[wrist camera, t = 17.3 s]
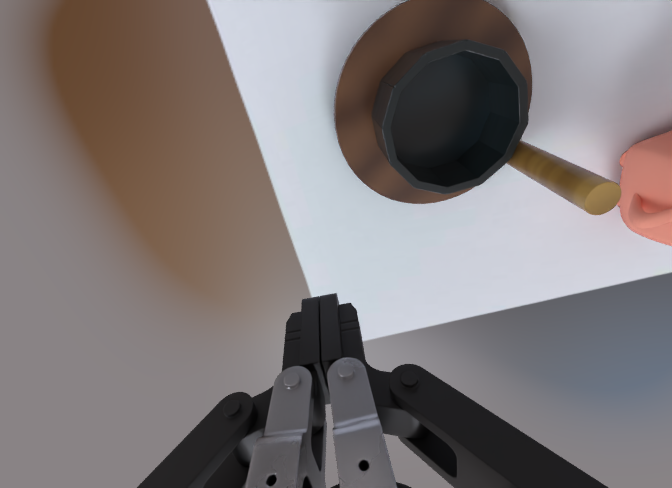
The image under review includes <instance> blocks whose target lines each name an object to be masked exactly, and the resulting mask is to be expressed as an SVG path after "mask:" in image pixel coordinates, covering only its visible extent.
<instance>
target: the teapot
mask: <svg viewBox="0 0 672 488" xmlns="http://www.w3.org/2000/svg"><path fill="white" fill-rule="evenodd" d="M620 165H621V166H622V167H623V168H622V174H621V179H620V188H621V197H620V200H619V202H618V203H617V204H618V206H619V207H620V212H621V217H622V219H623V221H624V223H625V224H626V225H627V227H628V228H629V229H631V230H632V231H633V232H635V233H637V234H639V235H641V236H644V237H646V238H648V239H651V240H654V241H657V242H660V243H663V244H666V245H670V246H672V131H669V132H666V133H663V134H660V135H657V136H655V137H652V138H649V139H646V140H644V141H641V142H639V143H636V144H635V145H633V146H631V147H630V148H629V150H627V151H626V152H625V153H624V154H623V155H622V156H621V158H620Z"/></svg>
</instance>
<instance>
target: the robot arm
mask: <svg viewBox="0 0 672 488" xmlns="http://www.w3.org/2000/svg"><path fill="white" fill-rule="evenodd" d="M326 404H331V407H332V415H333V423H334V428H333V438H334V446H335V453H336V461H337V469H338V476H339V484H338V485H335V486H333V487H331V488H411V487H409V486H407V485H404V484H401V483H397V482H396V481H395V477H394V474H393V470H392V466H391V462H390V458H389V454H388V450H387V447H386V443H385V439H384V435H383V433H384V434H390V435H395V436H398V437H399V439H400V440H401V442H403V443H404V444H405V445H406V446H407V447H408V448H409V449H410V450H412V451H413V452H414V453H415V454H416V455H417V456H419V457H420V458H421V459H422V460H423V461H424V462H426V463H427V464H428V465H429V466H430V467H431V468H432V469H433V470H435V471H436V472H437V473H438V474H439V475H440V476H442V477H443V478H444V479H445V480H446V481H447V482H448V483H450V484H451V485H452V486H453V487H454V488H608V487H607V486H605V485H603V484H602V483H600V482H599V481H597V480H596V479H594V478H593V477H591V476H590V475H588V474H586V473H585V472H583V471H582V470H580V469H578V468H577V467H576V466H574V465H572V464H571V463H569V462H567V461H566V460H565V459H563V458H562V457H560V456H558V455H557V454H555V453H554V452H552V451H551V450H549V449H548V448H546V447H544V446H543V445H541V444H539V443H538V442H537V441H535V440H533V439H532V438H530V437H529V436H527V435H526V434H524V433H523V432H521V431H520V430H518V429H517V428H515V427H513V426H512V425H510V424H509V423H507V422H506V421H504V420H502V419H501V418H499V417H498V416H496V415H494V414H493V413H492V412H490V411H489V410H487V409H485V408H484V407H482V406H481V405H479V404H477V403H476V402H475V401H473V400H471V399H470V398H468V397H467V396H465V395H464V394H462V393H461V392H459V391H457V390H456V389H454V388H452V387H451V386H450V385H448V384H447V383H445V382H443V381H442V380H440V379H439V378H437V377H435V376H434V375H433V374H431V373H429V372H428V371H426V370H425V369H423V368H421V367H420V366H417V365H414V364H404V365H401V366H398V367H396V368H395V369H394V370H393V371H392V372H384V371H379V370H376V369H374V368H372V367H371V366H370V365H368V364H367V362H366V360H365V354H364V348H363V342H362V336H361V331H360V326H359V321H358V316H357V311H356V309H355V308H354V307H353V306H352V304H351V303H346V304H341V305H339V301H338V297H337V293H334V294H329V295H323V296H320V298H319V296H318V297H313V298H307V299H303V300H302V309H301V312H297V313H292V314H291V316H290V318H289V319H288V321H287V323H286V334H285V344H284V356H283V366H282V372H281V373H280V374H279V375H278V376H277V378H276V380H275V382H274V386H272V387H271V388H270V389H269V390H267V391H265V392H263V393H261V394H259V395H257V396H254V397H253V398H251V397H250V395H248V394H247V393H244V392H236V393H232V394H230V395H228V396H226V397H225V398H224V399H223V400H221V401H220V402H219V403H218V404H217V405H216V406H215V408H214V409H213V410H212V411H211V412H210V413H209V414H208V415H207V416H206V417H205V418H204V419H203V420H202V421H201V422H200V423H199V424H198V425H197V426H196V427H195V428H194V429H193V430H192V431H191V432H190V434H188V435H187V436H186V437H185V438H184V440H183V441H182V442H181V443H180V444H179V445H178V446H177V447H176V448H175V449H174V450H173V451H172V452H171V453H170V454H169V455H168V456H167V457H166V458H165V459H164V460H163V462H161V463H160V464H159V465H158V466H157V467H156V468H155V470H154V471H153V472H152V473H151V474H150V475H149V476H148V477H147V478H146V479H145V480H144V481H143V482H142V483H141V484H140V485H139V486H138V487H137V488H326V485H325V456H326V453H325V452H326V430H327V423H326V419H325V417H326V413H325V405H326Z"/></svg>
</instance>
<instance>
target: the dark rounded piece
mask: <svg viewBox="0 0 672 488" xmlns="http://www.w3.org/2000/svg"><path fill="white" fill-rule="evenodd" d="M531 96H532V72H531V65H530V60H529V56H528V52H527V49H526V47H525V44H524V42H523V39H522V38H521V36H520V34H519V32H518V31H517V29H516V27H515V26H514V25H513V24H512V22H511V21H510V20H509V19H508V18H507V17H506V16H505V15H504V14H503V13H502V12H501V11H500V10H499V9H497V8H496V7H494V6H493V5H491V4H489V3H488V2H486V1H484V0H409V1H407V2H404V3H402V4H400V5H398V6H396V7H395V8H393V9H391V10H390V11H388V12H386V13H385V14H384V15H382V16H381V17H380V18H379V19H377V20H376V21H375V22H374V23H373V24H372V25H371V26H370V27H369V28H368V29H367V30H366V31H365V32H364V33H363V34H362V35H361V37H360V38H359V40H358V41H357V42H356V44H355V45H354V46H353V48H352V50H351V52H350V53H349V55H348V57H347V59H346V61H345V63H344V66H343V68H342V70H341V73H340V76H339V80H338V83H337V87H336V93H335V100H334V121H335V129H336V133H337V138H338V142H339V145H340V148H341V150H342V153H343V155H344V157H345V159H346V161H347V163H348V165H349V166H350V168H351V169H352V170H353V172H354V173H355V174H356V175H357V177H358V178H359V179H360V180H361V181H362V182H363V183H364V184H366V185H367V186H368V187H369V188H371V189H372V190H374V191H375V192H377V193H379V194H380V195H382V196H385V197H387V198H390V199H392V200H396V201H400V202H405V203H412V204H426V203H435V202H440V201H444V200H448V199H450V198H453V197H456V196H458V195H461V194H463V193H465V192H467V191H469V190H470V189H472V188H474V187H475V186H478V185H480V184H482V183H484V182H485V181H486V180H487V179H488V178H489V177H491V176H492V175H493V174H494V173H495V172H496V171H498V170H499V169H500V168H501V167H502V166H503V165H504V164H506V163H507V164H508V165H510V166H511V167H513V168H515V169H516V170H518V171H520V172H521V173H523V174H525V175H526V176H528V177H530V178H531V179H533V180H535V181H536V182H538V183H540V184H541V185H543V186H545V187H546V188H548V189H550V190H551V191H553V192H554V193H556V194H558V195H559V196H561V197H563V198H564V199H566V200H568V201H569V202H571V203H573V204H574V205H576V206H578V207H579V208H581V209H583V210H584V211H586V212H588V213H589V214H592V215H601V214H604V213H606V212H608V211H610V210H611V209H612V208H614V207H615V206H616V204H617V203H618V202H619V200H620V197H621V188H620V186H619V185H618V184H617V183H615V182H613V181H611V180H608V179H606V178H604V177H602V176H599V175H597V174H595V173H593V172H591V171H588V170H586V169H584V168H582V167H579V166H577V165H575V164H573V163H570V162H568V161H566V160H564V159H562V158H559V157H557V156H555V155H553V154H550V153H548V152H546V151H544V150H541V149H539V148H537V147H535V146H533V145H530V144H528V143H526V142H524V141H521V140H520V139H521V137H522V135H523V133H524V131H525V129H526V126H527V124H528V112H529V108H530V102H531Z"/></svg>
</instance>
